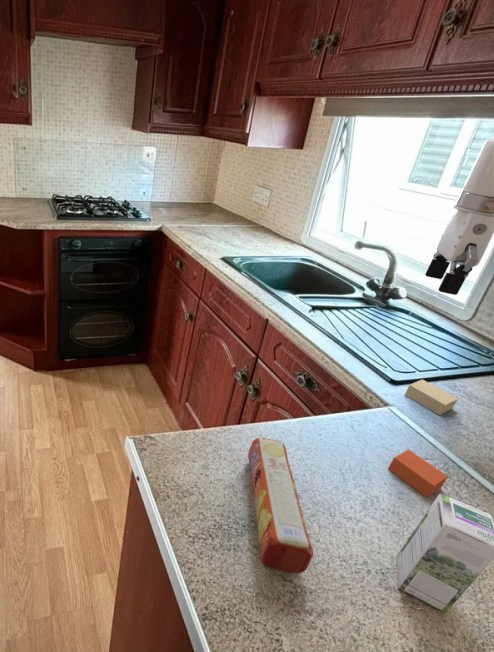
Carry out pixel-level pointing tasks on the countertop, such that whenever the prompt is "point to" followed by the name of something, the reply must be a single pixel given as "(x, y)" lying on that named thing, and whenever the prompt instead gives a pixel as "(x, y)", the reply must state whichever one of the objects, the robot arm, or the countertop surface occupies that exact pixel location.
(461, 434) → the countertop surface
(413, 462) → the terracotta pad
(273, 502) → the snack package
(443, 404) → the sand pad
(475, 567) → the syrup box
